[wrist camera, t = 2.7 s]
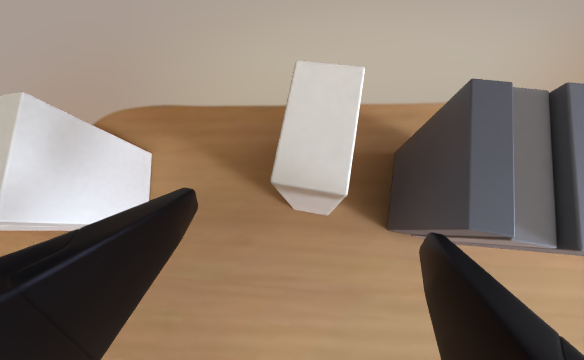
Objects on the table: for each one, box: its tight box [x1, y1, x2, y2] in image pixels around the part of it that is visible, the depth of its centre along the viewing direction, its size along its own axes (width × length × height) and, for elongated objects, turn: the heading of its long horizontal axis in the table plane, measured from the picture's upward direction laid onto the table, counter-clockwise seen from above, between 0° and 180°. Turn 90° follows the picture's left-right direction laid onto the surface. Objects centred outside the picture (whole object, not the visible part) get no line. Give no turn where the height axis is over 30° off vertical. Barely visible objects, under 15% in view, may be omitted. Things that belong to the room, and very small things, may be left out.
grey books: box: [387, 79, 584, 256], centre depth 14 cm, size 7×5×10 cm
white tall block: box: [270, 61, 365, 216], centre depth 14 cm, size 6×3×11 cm, turn 169°
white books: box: [0, 92, 152, 231], centre depth 16 cm, size 7×5×10 cm
